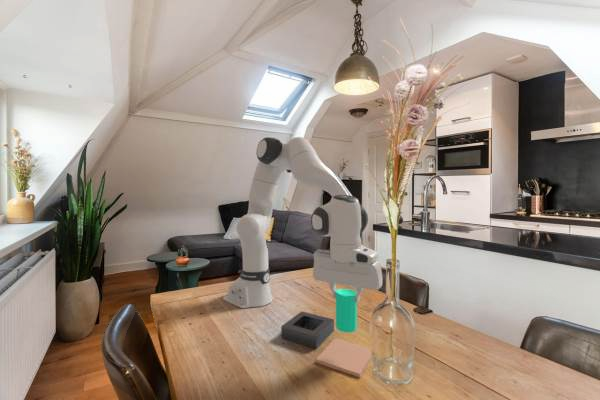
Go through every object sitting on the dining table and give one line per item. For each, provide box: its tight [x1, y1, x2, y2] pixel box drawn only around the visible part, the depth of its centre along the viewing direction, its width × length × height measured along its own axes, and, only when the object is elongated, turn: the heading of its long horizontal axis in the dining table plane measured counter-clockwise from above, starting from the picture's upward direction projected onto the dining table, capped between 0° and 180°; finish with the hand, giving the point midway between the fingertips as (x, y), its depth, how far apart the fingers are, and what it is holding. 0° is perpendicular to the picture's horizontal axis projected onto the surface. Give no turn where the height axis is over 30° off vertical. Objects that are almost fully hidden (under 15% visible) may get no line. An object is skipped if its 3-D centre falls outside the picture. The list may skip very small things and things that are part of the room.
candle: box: [335, 288, 358, 333], centre depth 84 cm, size 6×6×12 cm
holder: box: [280, 311, 335, 350], centre depth 98 cm, size 13×13×4 cm
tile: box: [315, 338, 373, 378], centre depth 84 cm, size 13×13×1 cm
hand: (346, 299), depth 84 cm, fingers closed on candle, 5 cm apart
